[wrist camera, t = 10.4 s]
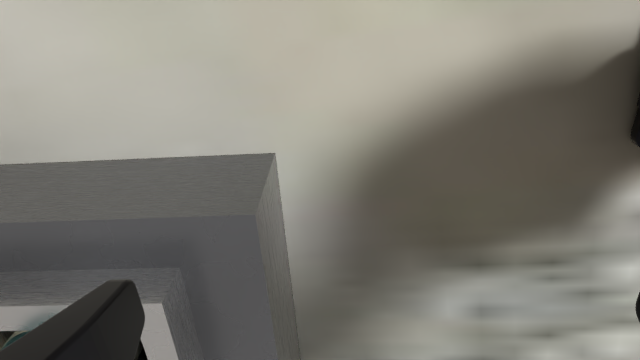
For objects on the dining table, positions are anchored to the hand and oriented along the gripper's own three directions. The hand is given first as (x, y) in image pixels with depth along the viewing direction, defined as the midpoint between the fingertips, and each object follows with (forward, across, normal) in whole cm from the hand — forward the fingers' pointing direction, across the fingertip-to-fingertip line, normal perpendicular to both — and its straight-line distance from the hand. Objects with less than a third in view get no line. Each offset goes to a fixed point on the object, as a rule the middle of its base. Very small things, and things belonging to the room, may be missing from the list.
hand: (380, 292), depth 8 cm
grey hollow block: (+13, +12, +10) cm, 20 cm away
